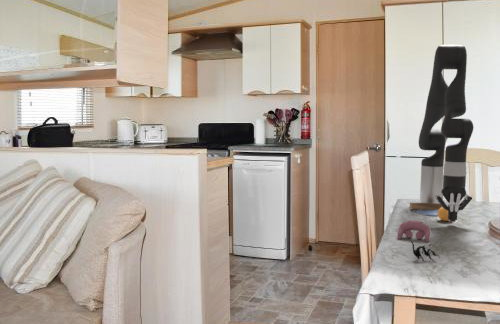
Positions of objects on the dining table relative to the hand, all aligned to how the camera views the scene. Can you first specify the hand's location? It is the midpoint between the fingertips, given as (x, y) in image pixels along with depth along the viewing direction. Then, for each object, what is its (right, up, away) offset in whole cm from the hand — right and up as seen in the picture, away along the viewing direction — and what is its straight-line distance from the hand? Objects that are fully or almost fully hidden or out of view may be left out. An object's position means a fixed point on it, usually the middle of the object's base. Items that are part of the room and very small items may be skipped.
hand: (452, 221), depth 181 cm
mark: (+1, +1, +22) cm, 22 cm away
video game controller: (-21, -4, -20) cm, 29 cm away
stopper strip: (+2, +2, +30) cm, 30 cm away
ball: (0, +2, +7) cm, 7 cm away
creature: (-25, -6, -43) cm, 50 cm away
